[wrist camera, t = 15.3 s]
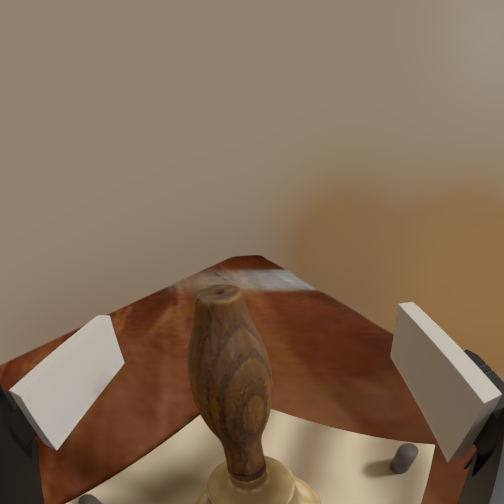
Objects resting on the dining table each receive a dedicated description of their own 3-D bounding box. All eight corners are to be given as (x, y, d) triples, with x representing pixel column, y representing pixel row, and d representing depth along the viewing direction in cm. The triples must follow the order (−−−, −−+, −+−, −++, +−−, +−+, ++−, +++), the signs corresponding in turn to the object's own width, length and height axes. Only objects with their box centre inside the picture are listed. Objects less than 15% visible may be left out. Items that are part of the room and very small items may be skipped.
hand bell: (329, 473, 14) (353, 250, 10) (312, 571, 6) (407, 410, 2) (216, 461, 16) (164, 255, 12) (173, 544, 8) (11, 334, 5)
